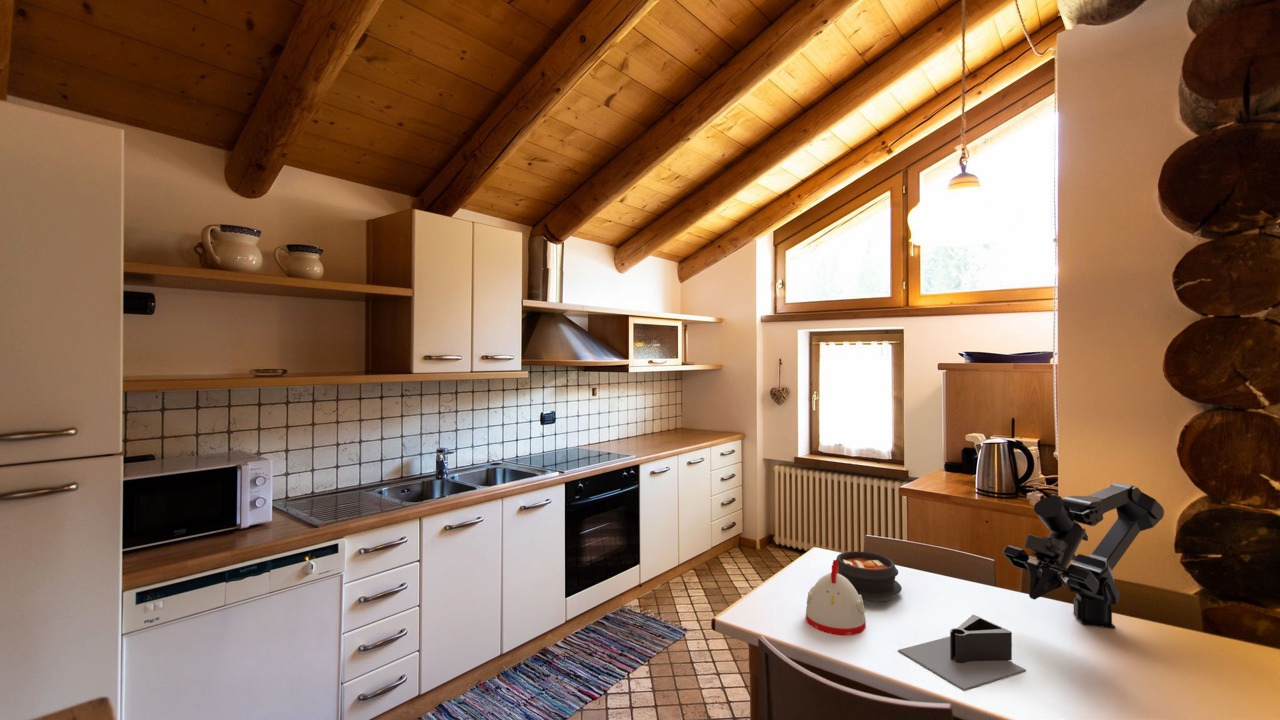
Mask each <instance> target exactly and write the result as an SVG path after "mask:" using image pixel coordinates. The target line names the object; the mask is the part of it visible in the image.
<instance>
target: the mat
mask: <svg viewBox="0 0 1280 720" xmlns="http://www.w3.org/2000/svg"><path fill="white" fill-rule="evenodd" d="M897 652H899V653H901V654H902V655H904V656H905V657H907V658H909V659H911V660H913V661H914V662H915V663H918V664H919V665H921V666H922V667H923V668H925V669H928V670H929V671H931V672H932V673H934V674H936V675H938V677H941V678H943V679H944V680H946V681H947V682H949V683H951V684H952V685H954V686H956V687H958V688H959V689H960V690H962V691H967V690H969V689H972V688H973V689H974V688H976V687H980V686H982V685H985V684H989V683H991V682H994V681H998V680H997V679H999V680H1001V678H1002V679H1004V677H1005V678H1007V677H1011V676H1013V675H1017V674H1020V673H1024V672H1026V670H1027V669H1025V668H1024V667H1021V666H1019V665H1017V664H1016V663H1014V662H1013V661H1011V660H1004V661H969V662H966V663H957V662H955V657H953V660H951V659H950V635H949V636H946V637H942V638H939V639H935V640H931V641H928V642H923V643H919V644H915V645H911V646H907V647H903V648H900V649H898V650H897Z"/></svg>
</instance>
